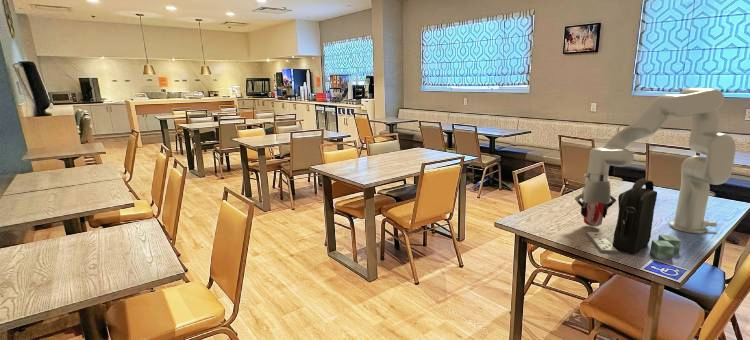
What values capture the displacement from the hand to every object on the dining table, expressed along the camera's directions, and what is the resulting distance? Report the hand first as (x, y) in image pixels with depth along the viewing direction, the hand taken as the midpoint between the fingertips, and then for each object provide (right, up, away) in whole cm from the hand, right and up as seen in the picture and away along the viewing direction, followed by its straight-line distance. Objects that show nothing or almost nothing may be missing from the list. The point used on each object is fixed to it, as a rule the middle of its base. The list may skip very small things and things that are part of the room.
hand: (593, 216), depth 166 cm
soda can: (0, -4, +1) cm, 4 cm away
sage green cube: (+10, -12, -26) cm, 30 cm away
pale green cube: (+16, -10, -21) cm, 29 cm away
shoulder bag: (+3, -11, -19) cm, 22 cm away
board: (-5, -9, -15) cm, 18 cm away
